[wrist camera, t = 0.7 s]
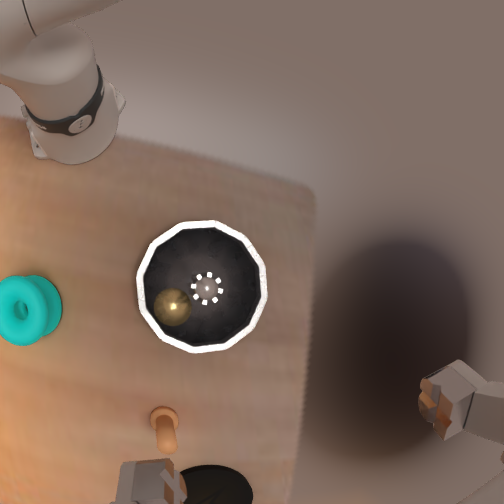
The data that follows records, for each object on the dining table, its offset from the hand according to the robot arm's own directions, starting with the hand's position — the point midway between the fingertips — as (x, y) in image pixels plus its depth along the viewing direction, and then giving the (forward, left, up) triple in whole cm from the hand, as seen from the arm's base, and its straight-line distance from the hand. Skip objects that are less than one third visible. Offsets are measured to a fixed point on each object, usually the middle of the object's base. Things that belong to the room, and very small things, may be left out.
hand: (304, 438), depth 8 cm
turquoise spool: (-13, -21, -45) cm, 52 cm away
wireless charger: (+35, -21, -46) cm, 61 cm away
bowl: (0, +4, -45) cm, 45 cm away
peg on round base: (+15, -15, -45) cm, 50 cm away
